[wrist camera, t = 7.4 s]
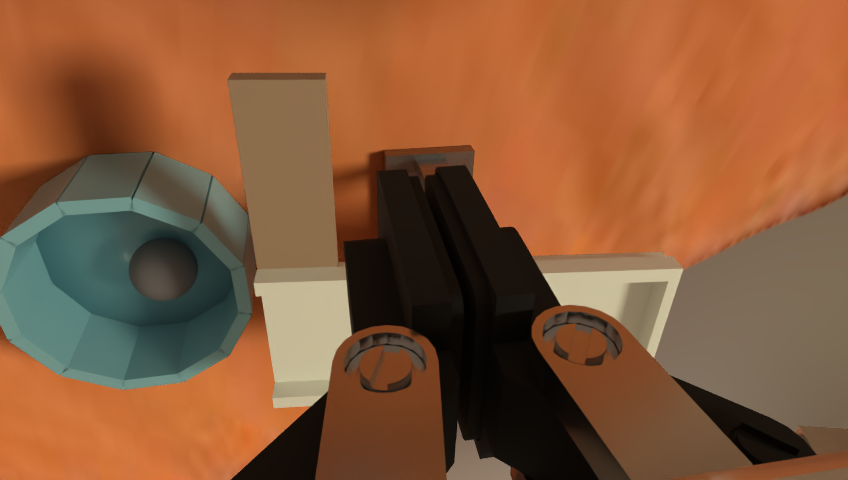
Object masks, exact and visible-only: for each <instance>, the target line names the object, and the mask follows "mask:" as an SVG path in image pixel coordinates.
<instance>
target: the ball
mask: <svg viewBox="0 0 848 480" xmlns="http://www.w3.org/2000/svg"><path fill="white" fill-rule="evenodd" d="M197 274H198V263H197V259H196V257H195V255H194V253H193V252H192V250H191V249H190V248H189V247H188V246H187V245H186V244H184V243H182V242H181V241H178V240H176V239H172V238H156V239H152V240H150V241H147V242H145V243H144V244H142V245H141V246H140V247H139V248H138V249H137V250H136V251H135V252H134V254H133V255H132V257H131V260H130V263H129V277H130V280H131V283H132V284H133V286H134V287H135V289H136V290H137V291H138V292H139V293H140V294H142V295H143V296H145V297H147V298H149V299H153V300H157V301H168V300H173V299H176V298H178V297H180V296H182V295H184V294H185V293H186V292H188V291H189V290H190V289H191V287H192V286H193V284H194V283H195V281H196V278H197Z"/></svg>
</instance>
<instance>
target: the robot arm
mask: <svg viewBox="0 0 848 480" xmlns="http://www.w3.org/2000/svg"><path fill="white" fill-rule="evenodd" d="M377 200H378V227H379V238H376V239H365V240H353V241H344V256H345V269H346V281H347V293H348V304H349V314H350V324H351V333H352V336H350V337H348V338H347V339H345V340H344V342H343V343H342V344H341V345H340V346H339V347H338V349H337V350H336V353H335V355H334V358H333V361H332V367H331V374H330V381H329V388H328V391H327V392H326V393H325V394H324V395H323V396H322V397H321V398H320V399H319V400H317V401H316V402H315V403H314V404H313V405H312V406H311V407H310V408H309V409H308V410H307V411H305V412H304V413H303V414H302V415H301V416H300V417H299V418H298V419H297V420H296V421H295V422H293V423H292V424H291V425H290V426H289V427H288V428H287V429H286V430H285V431H284V432H282V433H281V434H280V435H279V436H278V437H277V438H276V439H275V440H274V441H273V442H272V443H270V444H269V445H268V446H267V447H266V448H265V449H264V450H263V451H262V452H261V453H260V454H258V455H257V456H256V457H255V458H254V459H253V460H252V461H251V462H250V463H249V464H248V465H246V466H245V467H244V468H243V469H242V470H241V471H240V472H239V473H238V474H237V475H235V476H234V477H233V478H232V479H231V480H447V478H446V473H447V472H448V470H449V469H450V468H451V466H452V465H453V464H454V458H455V443H456V433H457V419H458V423H459V427H460V430H461V433H462V436H463V439H464V440H473V439H474V441H475V444H476V448H477V451H478V454H479V457H480V459H482V458H488V457H495V458H497V459H499V460H500V461H502V462H504V463H506V464H507V465H509V466H511V470H510V475H511V478H512V480H848V429H843V428H828V427H827V428H826V427H811V426H799V427H798V428H797V430H796V432H793V431H792V430H791V429H790V428H788V427H787V426H785V425H783V424H781V423H779V422H777V421H775V420H773V419H771V418H770V417H767V416H765V415H763V414H760V413H758V412H756V411H753V410H751V409H748V408H746V407H744V406H741V405H739V404H737V403H734V402H732V401H729V400H727V399H725V398H723V397H720V396H718V395H715V394H713V393H711V392H708V391H706V390H704V389H701V388H699V387H696V386H694V385H692V384H689V383H687V382H685V381H682V380H680V379H677V378H675V377H673V376H671V375H669V374H668V373H667V372H666V371H665V370H664V368H662V366H661V365H660V364H659V363H658V362H657V361H656V360H655V359H654V358H653V357H652V356H651V354H650V353H649V352H648V351H647V350H646V349H645V348H644V347H643V346H642V345H641V344H640V343H639V342H638V341H637V339H636V338H635V337H634V336H633V335H632V334H631V333H630V332H629V331H628V330H627V329H626V328H625V327H624V326H623V325H622V324H621V323H620V322H618V321H617V320H616V319H615V318H614V317H612V316H610V315H608V314H606V313H604V312H602V311H600V310H596V309H593V308H590V307H586V306H578V305H564V306H561V305H560V303H559V301H558V299H557V298H556V296H555V294H554V293H553V291H552V289H551V288H550V286H549V284H548V282H547V281H546V279H545V277H544V276H543V274H542V272H541V271H540V269H539V267H538V265H537V264H536V262H535V260H534V259H533V257H532V255H531V254H530V252H529V250H528V248H527V247H526V245H525V243H524V242H523V240H522V238H521V237H520V235H519V233H518V232H517V230H516V229H515V228H514V227H502V228H500V227H499V225H498V223H497V222H496V220H495V218H494V216H493V214H492V212H491V211H490V209H489V207H488V205H487V203H486V201H485V200H484V198H483V196H482V194H481V192H480V190H479V189H478V187H477V185H476V183H475V181H474V179H473V178H472V176H471V174H470V172H469V170H468V168H467V167H466V166H465V165H458V166H444V167H436V169H435V174H434V175H426V177H425V193H424V190H423V187H422V185H421V182H420V179H419V177H418V176H409V175H408V172H407V170H406V169H400V170H386V171H377Z"/></svg>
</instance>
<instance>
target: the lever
mask: <svg viewBox="0 0 848 480" xmlns="http://www.w3.org/2000/svg"><path fill="white" fill-rule="evenodd" d="M228 86H229V93H230V99H231V105H232V112H233V118H234V124H235V131H236V137H237V143H238V150H239V156H240V163H241V169H242V175H243V182H244V188H245V194H246V201H247V207H248V213H249V220H250V226H251V233H252V239H253V245H254V252H255V258H256V264H257V272H256V276H255V280H254V289H255V295H256V296H262V303H263V309H264V315H265V322H266V328H267V334H268V341H269V347H270V353H271V360H272V366H273V373H274V379H275V385H274V391H273V397H272V399H273V405H274V408H283V407H301V406H312V405H313V404H314V403H315V402H316V401H317V400H319V399H320V398H321V397H322V396H323V395H324V394H325V393H326V392H327V391H328V388H329V381H330V374H331V367H332V361H333V358H334V355H335V353H336V350H337V349H338V347H339V346H340V345H341V344H342V343H343V342H344V340H345V339H347V338H348V337H350V336H352V333H351V324H350V314H349V304H348V293H347V281H346V269H345V262H338V250H337V234H336V219H335V203H334V188H333V172H332V157H331V141H330V125H329V110H328V94H327V79H326V73H232V74H231V75H230V77H229V78H228ZM532 257H533V259H534V260H535V262H536V264H537V265H538V267H539V269H540V271H541V272H542V274H543V276H544V277H545V279H546V281H547V282H548V284H549V286H550V288H551V289H552V291H553V293H554V294H555V296H556V298H557V299H558V301H559V303H560V305H561V306H564V305H578V306H586V307H590V308H593V309H596V310H600V311H602V312H604V313H606V314H608V315H610V316H612V317H614V318H615V319H616V320H617V321H618V322H620V323H621V324H622V325H623V326H624V327H625V328H626V329H627V330H628V331H629V332H630V333H631V334H632V335H633V336H634V337H635V338H636V339H637V341H638V342H639V343H640V344H641V345H642V346H643V347H644V348H645V349H646V350H647V351H648V352H649V353H650V354H651V356H652V357H653V358H654V356H655V353H656V350H657V347H658V344H659V341H660V338H661V335H662V332H663V329H664V326H665V323H666V320H667V317H668V314H669V311H670V308H671V304H672V302H673V298H674V296H675V292H676V289H677V286H678V283H679V280H680V277H681V274H682V271H683V268H682V266H681V265H680V264H679V263H678V262H677V260H676V259H675V258H674V257H673V256H666V255H665V254H664V253H663V252H644V253H612V254H581V255H549V256H532Z"/></svg>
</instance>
